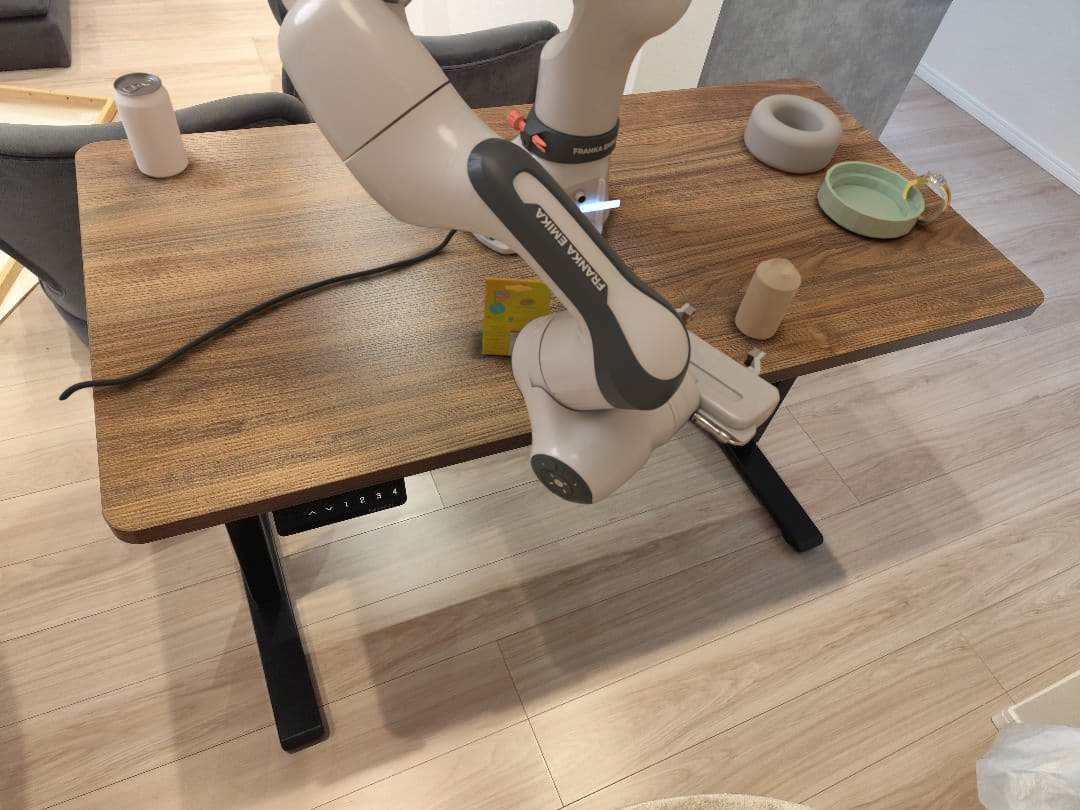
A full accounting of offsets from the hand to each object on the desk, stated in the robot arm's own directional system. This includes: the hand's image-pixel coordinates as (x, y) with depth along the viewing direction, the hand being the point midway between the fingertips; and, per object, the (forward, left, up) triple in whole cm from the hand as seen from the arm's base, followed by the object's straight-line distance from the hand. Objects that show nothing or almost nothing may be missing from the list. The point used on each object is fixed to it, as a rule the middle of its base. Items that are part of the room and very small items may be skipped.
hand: (724, 331), depth 84 cm
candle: (+11, +3, -7) cm, 13 cm away
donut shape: (+45, +33, -7) cm, 56 cm away
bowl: (+45, +15, -7) cm, 48 cm away
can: (-47, +64, -7) cm, 80 cm away
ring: (+51, +10, -6) cm, 52 cm away
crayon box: (-20, +13, -7) cm, 25 cm away
